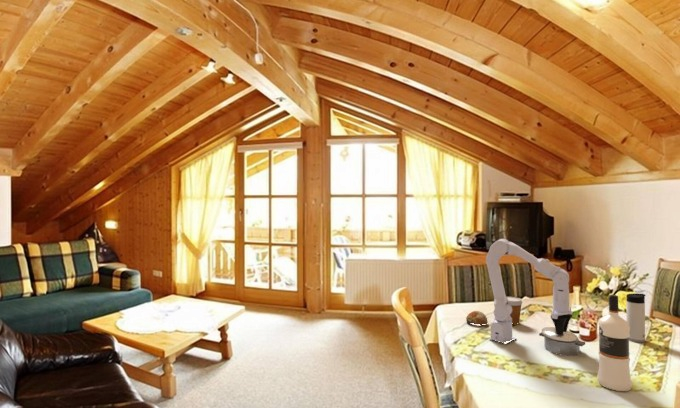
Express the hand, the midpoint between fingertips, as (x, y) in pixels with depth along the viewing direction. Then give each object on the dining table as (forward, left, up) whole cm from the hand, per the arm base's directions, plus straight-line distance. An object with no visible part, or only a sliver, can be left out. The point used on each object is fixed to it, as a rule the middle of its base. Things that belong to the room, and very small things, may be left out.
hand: (561, 332), depth 154 cm
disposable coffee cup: (+17, +29, -7) cm, 34 cm away
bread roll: (+4, +40, -7) cm, 41 cm away
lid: (0, +1, -2) cm, 2 cm away
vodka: (-19, -23, -7) cm, 31 cm away
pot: (0, 0, -7) cm, 7 cm away
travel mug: (+34, -17, -7) cm, 39 cm away
